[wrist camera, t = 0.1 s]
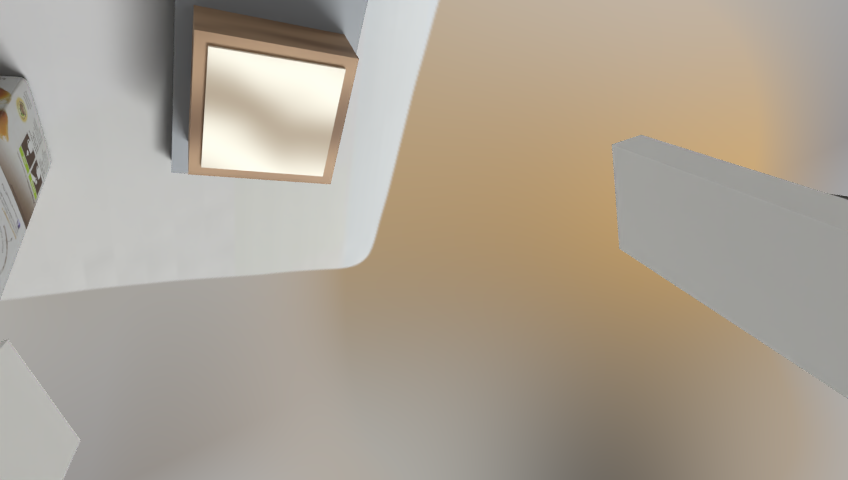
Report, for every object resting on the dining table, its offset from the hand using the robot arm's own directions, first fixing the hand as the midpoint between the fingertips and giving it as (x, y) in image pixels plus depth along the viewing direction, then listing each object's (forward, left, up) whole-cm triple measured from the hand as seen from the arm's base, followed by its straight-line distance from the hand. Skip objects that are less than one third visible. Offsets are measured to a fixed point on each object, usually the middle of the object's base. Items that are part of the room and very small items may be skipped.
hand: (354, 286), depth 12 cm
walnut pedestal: (+6, +4, -26) cm, 27 cm away
